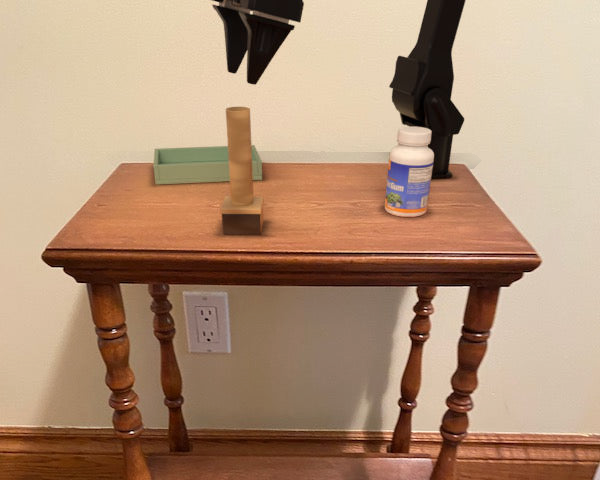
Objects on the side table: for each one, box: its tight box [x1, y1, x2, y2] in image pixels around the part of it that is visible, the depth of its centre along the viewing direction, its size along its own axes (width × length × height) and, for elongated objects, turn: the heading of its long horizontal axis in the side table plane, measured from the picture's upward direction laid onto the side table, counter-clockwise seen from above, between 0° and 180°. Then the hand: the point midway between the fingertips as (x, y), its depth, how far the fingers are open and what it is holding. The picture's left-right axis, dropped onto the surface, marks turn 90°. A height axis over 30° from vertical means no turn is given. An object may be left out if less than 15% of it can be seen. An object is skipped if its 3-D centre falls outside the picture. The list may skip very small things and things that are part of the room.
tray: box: [153, 144, 263, 186], centre depth 93 cm, size 15×10×3 cm, turn 100°
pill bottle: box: [384, 126, 434, 218], centre depth 77 cm, size 5×5×10 cm
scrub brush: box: [220, 106, 265, 236], centre depth 71 cm, size 5×5×13 cm
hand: (241, 78), depth 78 cm, fingers open, 9 cm apart
